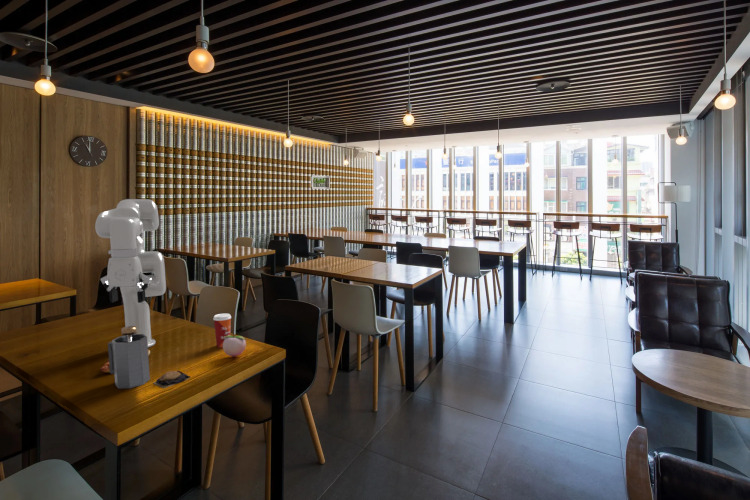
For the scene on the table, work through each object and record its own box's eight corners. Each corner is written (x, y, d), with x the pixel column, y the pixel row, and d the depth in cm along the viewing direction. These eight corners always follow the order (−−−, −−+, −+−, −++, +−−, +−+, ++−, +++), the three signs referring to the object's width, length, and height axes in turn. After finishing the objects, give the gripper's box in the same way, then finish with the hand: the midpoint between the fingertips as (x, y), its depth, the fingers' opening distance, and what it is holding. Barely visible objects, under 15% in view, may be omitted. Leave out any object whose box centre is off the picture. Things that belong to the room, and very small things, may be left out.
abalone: (163, 390, 133) (163, 380, 132) (151, 384, 137) (150, 374, 137) (193, 379, 141) (192, 369, 141) (180, 373, 146) (180, 364, 146)
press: (102, 388, 133) (99, 343, 131) (121, 376, 143) (118, 334, 141) (138, 388, 133) (135, 343, 131) (154, 376, 143) (151, 334, 141)
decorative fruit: (219, 361, 156) (218, 337, 155) (225, 354, 165) (224, 331, 163) (243, 360, 157) (242, 336, 156) (248, 353, 165) (247, 330, 164)
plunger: (114, 382, 134) (110, 331, 132) (128, 373, 142) (125, 324, 140) (136, 382, 134) (133, 331, 132) (149, 373, 142) (146, 324, 140)
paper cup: (226, 349, 170) (224, 318, 169) (210, 347, 172) (209, 317, 170) (236, 343, 178) (234, 313, 176) (221, 342, 179) (219, 312, 178)
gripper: (91, 255, 131) (95, 304, 133) (142, 255, 131) (146, 304, 133) (106, 252, 138) (110, 299, 140) (155, 252, 138) (158, 299, 140)
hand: (127, 301), depth 137 cm, fingers open, 9 cm apart
